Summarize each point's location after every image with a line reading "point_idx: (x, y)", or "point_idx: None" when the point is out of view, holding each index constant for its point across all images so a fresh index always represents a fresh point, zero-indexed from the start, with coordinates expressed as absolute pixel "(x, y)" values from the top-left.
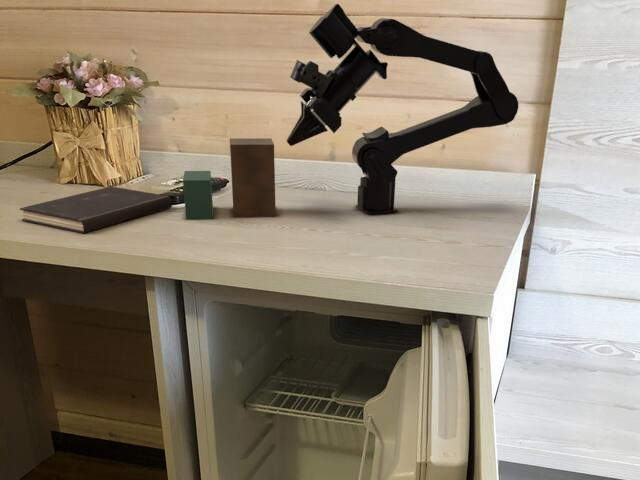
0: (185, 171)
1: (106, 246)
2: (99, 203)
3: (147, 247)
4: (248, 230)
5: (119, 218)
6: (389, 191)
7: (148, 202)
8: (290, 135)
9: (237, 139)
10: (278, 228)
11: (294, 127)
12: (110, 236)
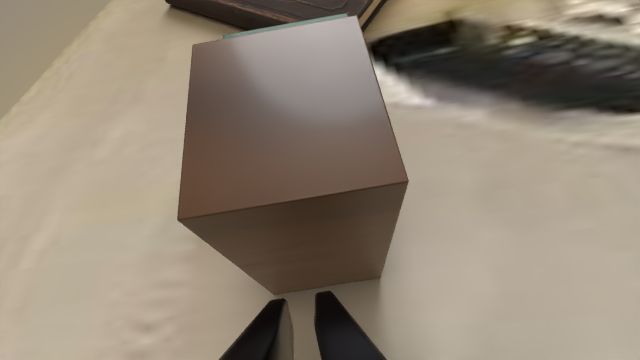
0: (339, 16)
1: (94, 44)
2: None
3: (69, 90)
4: (139, 237)
5: (220, 17)
6: None
7: (285, 23)
8: (315, 318)
9: (334, 43)
10: (142, 314)
11: (339, 357)
12: (148, 34)
